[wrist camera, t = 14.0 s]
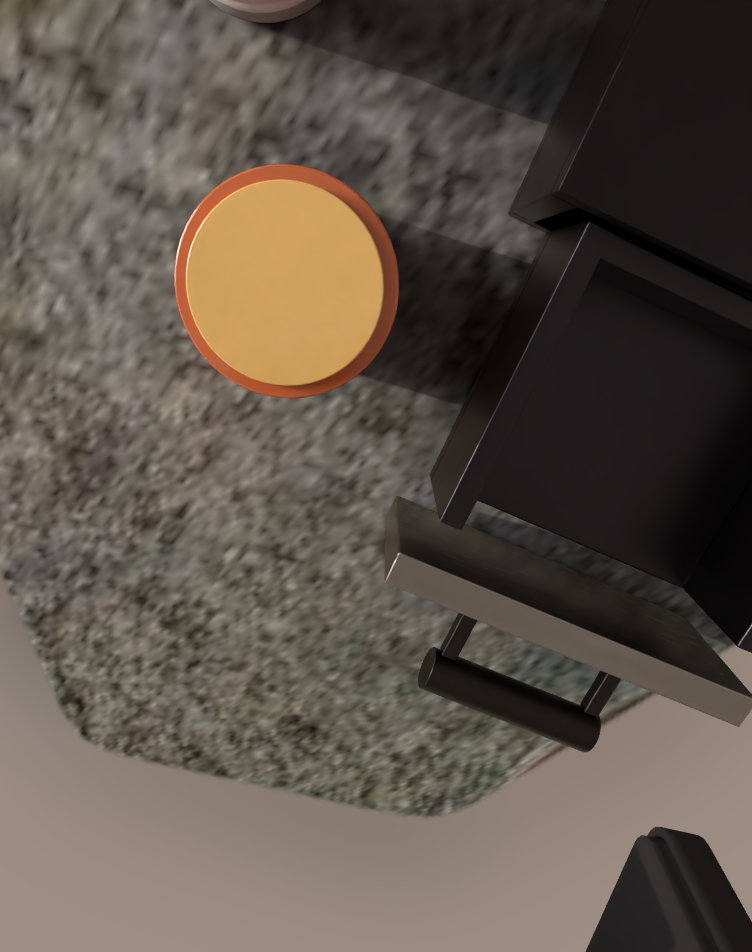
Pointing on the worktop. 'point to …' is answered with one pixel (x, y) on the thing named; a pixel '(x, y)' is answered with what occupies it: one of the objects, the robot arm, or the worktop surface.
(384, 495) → the worktop surface
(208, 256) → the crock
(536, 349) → the drawer
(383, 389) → the worktop surface
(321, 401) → the worktop surface
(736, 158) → the black drawer cabinet
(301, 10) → the travel mug
